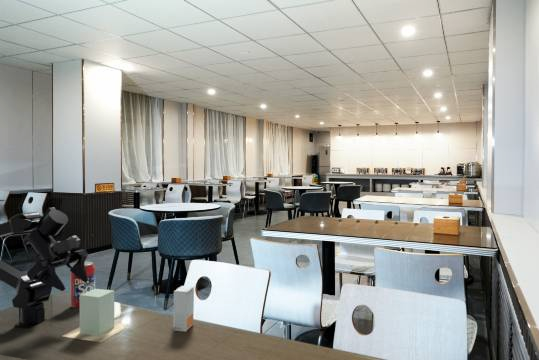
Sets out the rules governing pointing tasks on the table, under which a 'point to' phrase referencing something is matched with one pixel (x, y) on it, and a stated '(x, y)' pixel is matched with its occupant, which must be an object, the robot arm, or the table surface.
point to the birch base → (101, 338)
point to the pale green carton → (96, 312)
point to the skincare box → (183, 308)
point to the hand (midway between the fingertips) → (76, 285)
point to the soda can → (81, 284)
